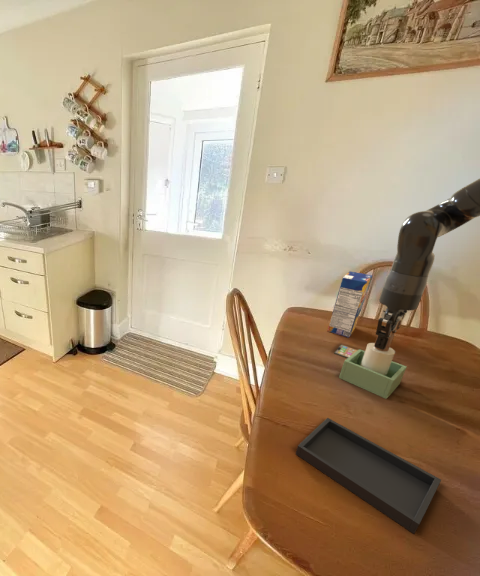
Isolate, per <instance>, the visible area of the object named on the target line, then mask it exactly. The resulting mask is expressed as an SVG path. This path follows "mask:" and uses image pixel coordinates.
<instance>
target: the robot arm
mask: <svg viewBox="0 0 480 576" xmlns="http://www.w3.org/2000/svg"><path fill="white" fill-rule="evenodd" d="M479 217H480V178H478V179H476V180H474V181H473V182H470V183H469V184H467V185H465V186H463V187H462V188H460V189H459V190H457V191H455V192H454V193H453V194H452V195H451V196H450V197H449V198H447V199H445V200H444V201H442V202H440V203H438V204H436V205H434V206H432V207H430V208H428V209H426V210H422V211H417V212H413V213H412V214H410V215H408V216H407V217H406V218H405V220H403V222H402V224H401V226H400V228H399V231H398V236H397V243H396V244H397V245H396V254H395V257H394V258H393V261H392V264H391V268H390V271H389V272H388V275H386V278H385V280H384V281H385V282H384V284H383V287H382V290H381V293H380V296H379V298H378V301H379V303H380V304H382V305H383V306H385V307H386V308H385V309H384V310H382V312H381V314H380V316H381V317H379V318H378V320H377V326H376V330H375V335H376V338H377V340H376V339H375V341H376V343H375V342H374V343H375V347H376V348H379V349H382V350H384V349H385V348H386V345H387V343H388V340H389V338H390V337H391V333H394V334H396V333H397V331H398V330H399V329H400V327H401V326H402V324H403V320H404V319H405V318H406V316H407V313H408V312H409V311H415V310H417V309H418V307H419V304H420V302H421V299H422V297H423V295H424V292H425V289H426V287H427V284H428V278H429V275H430V272H431V270H432V268H433V265H434V262H435V255H436V254H434V248H435V245H436V242H437V240H438V238H440V237H442V236H444V235H447V234H448V233H450V232H452V231H454V230H456V229H458V228H460V227H462V226H464V225H466V224H468V223H469V222H470V221H473V220H474V219H476V218H479ZM382 331H385V332H386V333H384V332H382ZM377 336H378V337H377Z"/></svg>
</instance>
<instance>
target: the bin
mask: <svg viewBox="0 0 480 576" xmlns="http://www.w3.org/2000/svg"><path fill="white" fill-rule="evenodd" d="M357 350H358V351H356V352H355V353H354V354H352V355H351V356H350V357H349V358H346V359H344V361H343V364H342V367H341V369H340V373H339V377H338V379H341V380H343V381H345V382H347V383H349V384H351V385H354V386H356V387H358V388H361V389H363V390H365V391H367V392H369V393H372V394H374V395H376V396H378V397H380V398H383V399H385V400H387V399H388V398H389V397H390V396H391V395H392V394H393V392H394V391H395V390H396V389H398V387H399V386H400V384H401V382H402V379H403V377H404V375H405V372H406V370H407V369H408V368H407V367H408V366H407V365H404V364H401V363H398V362H396V361H394V360H392V363H391V365H390V368H389V370H388V373H387V375H386V376H384V375H382V374H379V373H377V372H374V371H372V370H369V369H367V368H365V367H362V366H360V364H361V361H362V359H363V356H364V353H365V350H363V349H360V348H359V349H357Z"/></svg>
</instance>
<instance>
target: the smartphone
mask: <svg viewBox="0 0 480 576" xmlns="http://www.w3.org/2000/svg"><path fill="white" fill-rule="evenodd" d="M358 350H359V349H355V348H352V347H350V346H347V345H344V344H340V345H339V346H338V348H336V350H335V351H334V352H333V354H334V355H336V356H340V357H342V358H346V359H347V358H349V357H350V356H351V355H352V354H354V353H355V352H356V351H358Z"/></svg>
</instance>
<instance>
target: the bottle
mask: <svg viewBox="0 0 480 576" xmlns="http://www.w3.org/2000/svg"><path fill="white" fill-rule="evenodd" d="M382 332H384V333H386V332H385V331H382ZM377 337H378V335H376V339H375V340H374V341H375V342H369V343H367V344H366V347H365V350H364V351H365V353H364V356H363V359H362V361H361V364H360V366H362V367H365V368H367V369H369V370H372V371H374V372H377V373H379V374H382V375H384V376H386V375H387V373H388V370H389V368H390V365H391V363H392V361H394V358H395V355H396V350H395V349H393V348H392V347H391V346H392V343H393V340H394V338H395V333H391V337H390V338H389V340H388V343H387V345H386V348H385V349H384V350H382V349H379V348H376V347H375V343H376V340H377Z"/></svg>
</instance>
